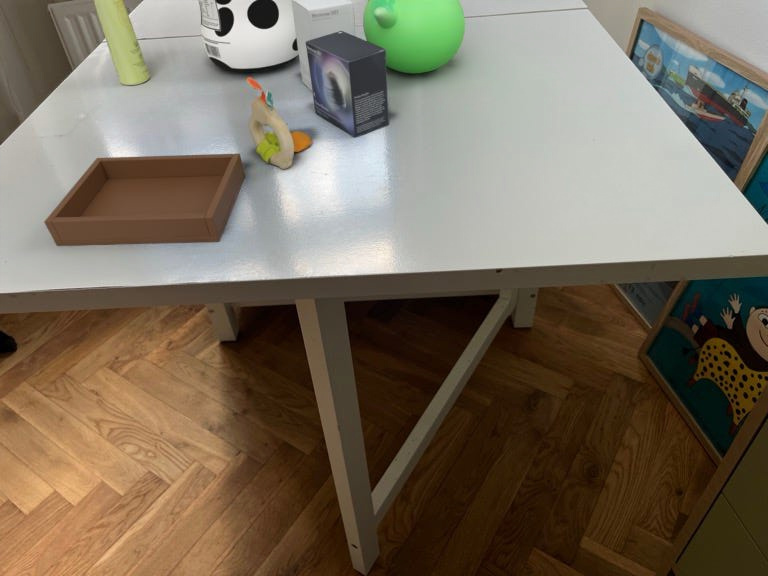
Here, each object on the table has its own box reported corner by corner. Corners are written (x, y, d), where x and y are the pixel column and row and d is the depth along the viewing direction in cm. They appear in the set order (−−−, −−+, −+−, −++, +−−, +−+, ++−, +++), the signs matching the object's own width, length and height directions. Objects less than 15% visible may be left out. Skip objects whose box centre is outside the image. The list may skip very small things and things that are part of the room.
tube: (157, 80, 94) (115, -53, 81) (129, 89, 91) (81, -46, 79) (142, 72, 97) (99, -57, 84) (114, 81, 95) (66, -51, 82)
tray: (56, 245, 59) (43, 221, 57) (106, 180, 69) (96, 157, 67) (219, 241, 58) (212, 217, 56) (245, 175, 69) (240, 153, 66)
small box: (311, 114, 81) (301, 40, 74) (348, 102, 84) (342, 29, 77) (353, 139, 75) (346, 60, 68) (391, 124, 78) (388, 47, 71)
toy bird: (480, 78, 89) (487, -24, 79) (381, 96, 85) (376, -9, 75) (434, 45, 102) (436, -47, 92) (347, 59, 98) (339, -35, 88)
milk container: (315, 45, 104) (302, -67, 92) (295, 80, 92) (277, -44, 80) (226, 46, 106) (202, -64, 94) (195, 80, 93) (162, -41, 81)
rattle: (333, 160, 71) (322, 69, 63) (274, 179, 68) (255, 87, 60) (307, 138, 75) (294, 52, 68) (251, 156, 72) (231, 67, 65)
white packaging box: (317, 98, 86) (306, 9, 77) (301, 82, 91) (289, -2, 82) (360, 88, 88) (354, 1, 80) (343, 73, 93) (335, -10, 85)
